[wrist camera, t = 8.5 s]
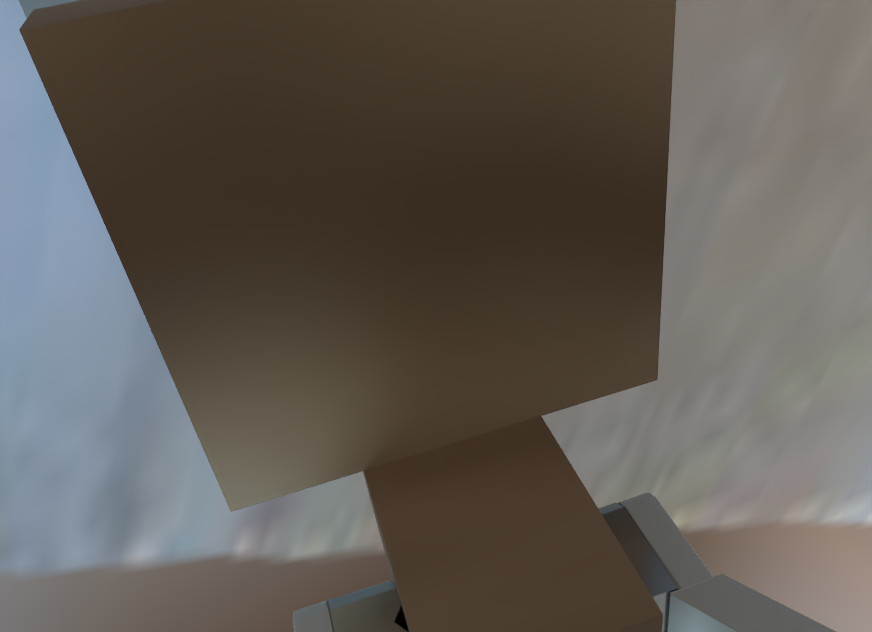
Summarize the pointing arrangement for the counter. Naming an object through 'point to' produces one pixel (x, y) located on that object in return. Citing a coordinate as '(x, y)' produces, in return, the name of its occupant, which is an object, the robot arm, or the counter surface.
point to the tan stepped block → (393, 260)
